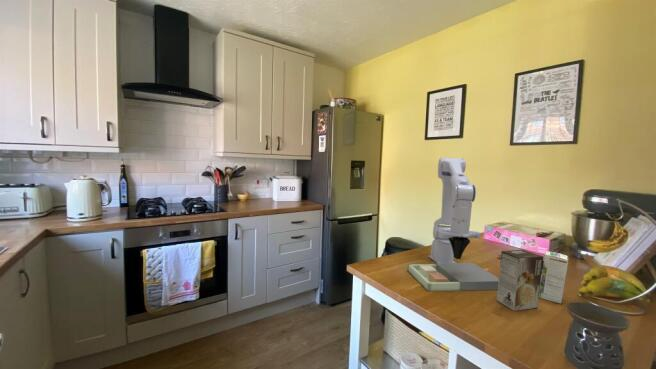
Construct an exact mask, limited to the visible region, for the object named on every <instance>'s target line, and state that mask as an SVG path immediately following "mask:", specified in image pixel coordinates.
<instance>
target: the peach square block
mask: <svg viewBox="0 0 656 369" xmlns="http://www.w3.org/2000/svg"><path fill="white" fill-rule="evenodd" d="M428 280H429V281H430V282H448V279H447V278H446V277H445V276H444V275H442V274H441V273H429V278H428Z"/></svg>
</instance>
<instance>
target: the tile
mask: <svg viewBox="0 0 656 369" xmlns="http://www.w3.org/2000/svg"><path fill="white" fill-rule="evenodd" d="M419 273H421V274H422V275H423V276H424V277H429V273H437V270H436V269H434V268H433V267H432V266H419Z"/></svg>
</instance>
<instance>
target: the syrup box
mask: <svg viewBox="0 0 656 369" xmlns="http://www.w3.org/2000/svg"><path fill="white" fill-rule="evenodd" d="M543 261H544V265H543V270H542V274H541V282H540V290H539V299H543V300H546V301H549V302H553V303H557V304H560V305H561V304H562V302H563V296H564V291H565V290H564V289H565V284H566V283H565V282H566V277H567V272H568V266H569V265H568V264H569V256H568V255H565V254H562V253H558V252H554V251H547V250H546V251H545V255H544V258H543Z"/></svg>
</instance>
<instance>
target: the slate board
mask: <svg viewBox="0 0 656 369" xmlns="http://www.w3.org/2000/svg"><path fill="white" fill-rule="evenodd" d="M434 264H435V265H436V270H437V272H439V273H441V274H442V275H444V276H445V277H446V278H447V279H448V280H449V281H450V282H459V283H460V288H459V291H460V292H461V291H496V290H497V291H498V282H499V276H498V277H497V276H496V275H494V274H493V273H491V272H489V271H488V270H486V269H484V268H482V267H481V266H479V265H478V264H475V262H456V263H437V262H435V263H434Z"/></svg>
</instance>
